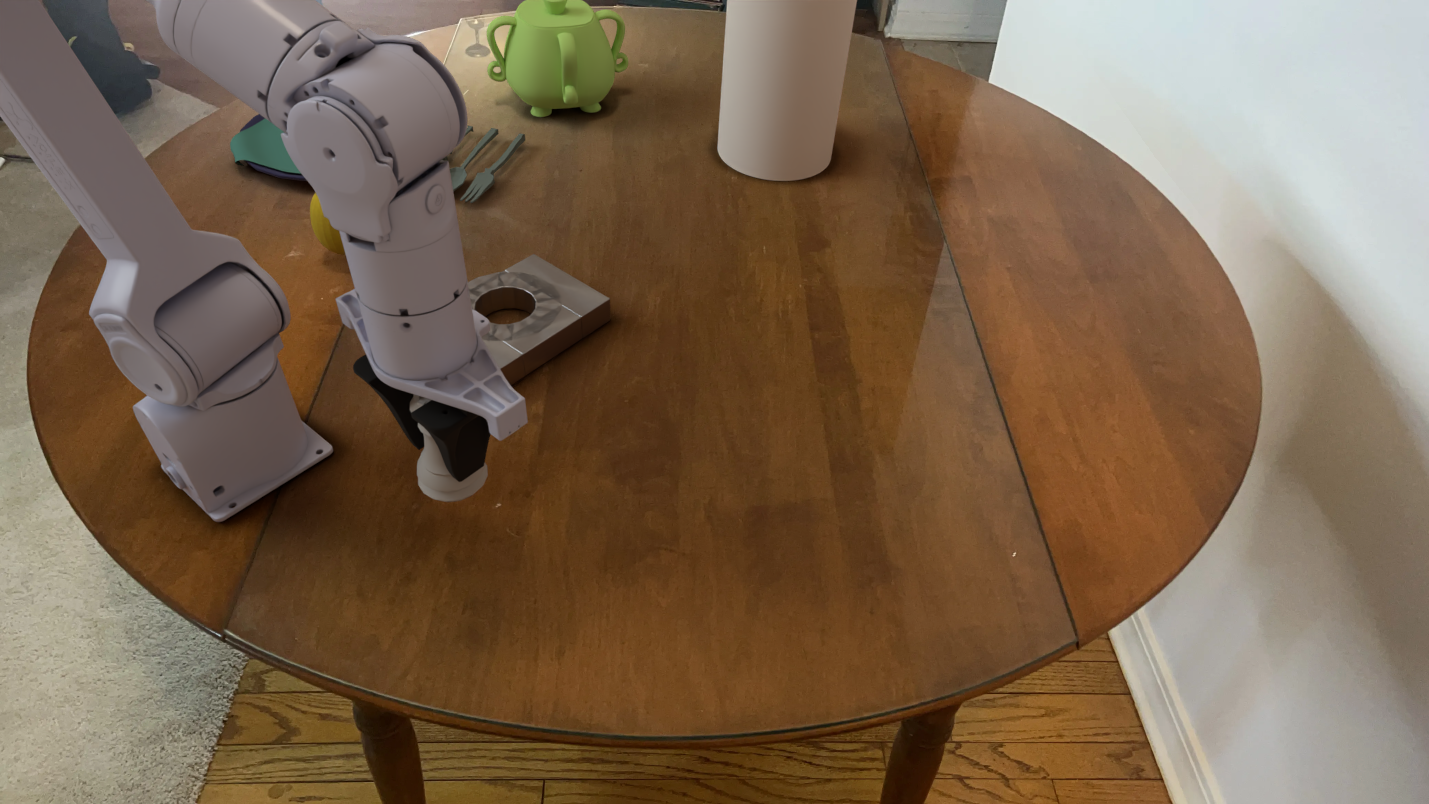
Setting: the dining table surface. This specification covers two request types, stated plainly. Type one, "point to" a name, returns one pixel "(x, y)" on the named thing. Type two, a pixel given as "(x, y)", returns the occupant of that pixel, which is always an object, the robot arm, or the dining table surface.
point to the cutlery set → (270, 156)
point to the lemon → (325, 228)
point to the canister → (782, 85)
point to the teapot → (558, 55)
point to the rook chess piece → (442, 469)
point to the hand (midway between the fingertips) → (448, 455)
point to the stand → (536, 313)
